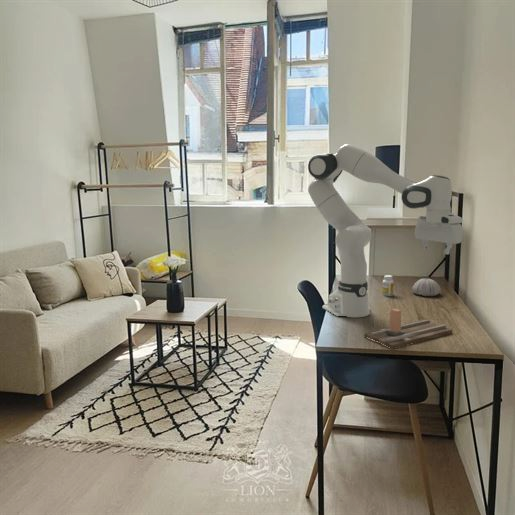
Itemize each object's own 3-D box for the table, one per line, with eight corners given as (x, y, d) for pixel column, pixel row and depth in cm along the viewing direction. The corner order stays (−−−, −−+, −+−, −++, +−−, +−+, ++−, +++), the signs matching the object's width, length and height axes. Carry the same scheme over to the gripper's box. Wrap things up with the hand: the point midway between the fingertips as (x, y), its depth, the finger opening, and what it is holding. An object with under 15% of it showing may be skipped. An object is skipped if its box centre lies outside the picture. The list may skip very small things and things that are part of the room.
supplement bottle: (391, 293, 234) (391, 274, 232) (394, 295, 229) (395, 276, 227) (380, 293, 234) (381, 274, 232) (384, 296, 229) (384, 277, 227)
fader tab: (386, 333, 171) (386, 309, 169) (394, 331, 172) (394, 307, 171) (396, 336, 166) (397, 312, 165) (404, 334, 168) (405, 310, 166)
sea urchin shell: (430, 299, 222) (431, 283, 221) (406, 294, 232) (406, 278, 231) (445, 294, 230) (446, 278, 229) (420, 289, 241) (421, 274, 239)
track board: (364, 337, 172) (364, 330, 171) (423, 323, 186) (423, 317, 186) (391, 349, 160) (391, 342, 159) (452, 333, 174) (452, 326, 174)
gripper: (411, 216, 186) (410, 249, 188) (454, 219, 168) (452, 256, 171) (422, 215, 189) (421, 248, 191) (466, 218, 171) (463, 255, 174)
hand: (436, 252), depth 181 cm, fingers open, 8 cm apart
